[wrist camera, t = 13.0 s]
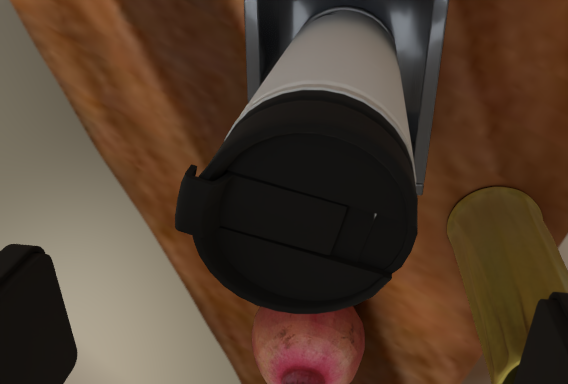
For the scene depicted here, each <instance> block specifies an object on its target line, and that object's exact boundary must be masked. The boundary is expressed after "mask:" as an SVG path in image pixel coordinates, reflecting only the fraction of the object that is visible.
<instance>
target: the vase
mask: <svg viewBox="0 0 568 384" xmlns="http://www.w3.org/2000/svg"><path fill="white" fill-rule="evenodd" d="M447 236H448V238H449V241H450V243H451V245H452V247H453V251H454V254H455V257H456V261H457V264H458V267H459V270H460V273H461V277H462V280H463V284H464V288H465V291H466V294H467V298H468V301H469V304H470V308H471V312H472V315H473V319H474V322H475V325H476V329H477V333H478V336H479V340H480V343H481V347H482V351H483V354H484V357H485V361H486V364H487V367H488V370H489V374H490V378H491V382H492V384H513V383H514V380H515V376H516V373H517V370H518V366H519V363H520V360H521V356H522V353H523V350H524V346H525V343H526V340H527V336H528V333H529V330H530V326H531V323H532V320H533V316H534V313H535V310H536V306H537V304H538V301H539V300H540V299H548V298H549V296H550V294H551V293H552V292H564V293H568V270H567V268H566V266H565V264H564V262H563V260H562V258H561V255H560V253H559V251H558V248H557V246H556V244H555V241H554V239H553V237H552V235H551V234H550V232H549V230H548V228H547V227H546V225H545V223H544V222H543V216H542V213H541V211H540V208H539V207H538V205H537V204H536V203H535V201H534V200H533V199H532V198H530V197H529V196H528V195H527V194H525V193H523V192H521V191H519V190H516V189H512V188H507V187H489V188H484V189H481V190H478V191H475V192H473V193H471V194H469V195H468V196H466V197H465V198H463V199H462V200H461V201H460V202H459V203H458V204H457V205H456V206H455V207H454V209H453V210H452V212H451V214H450V216H449V219H448V223H447Z"/></svg>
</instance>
